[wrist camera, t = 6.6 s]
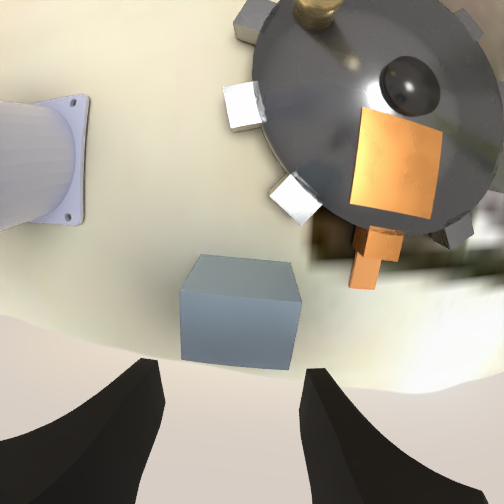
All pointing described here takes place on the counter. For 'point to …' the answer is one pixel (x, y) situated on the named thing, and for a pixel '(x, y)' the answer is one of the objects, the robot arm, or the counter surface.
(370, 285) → the timing pointer
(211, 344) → the link block
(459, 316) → the counter surface
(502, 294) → the counter surface
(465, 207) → the sprocket
